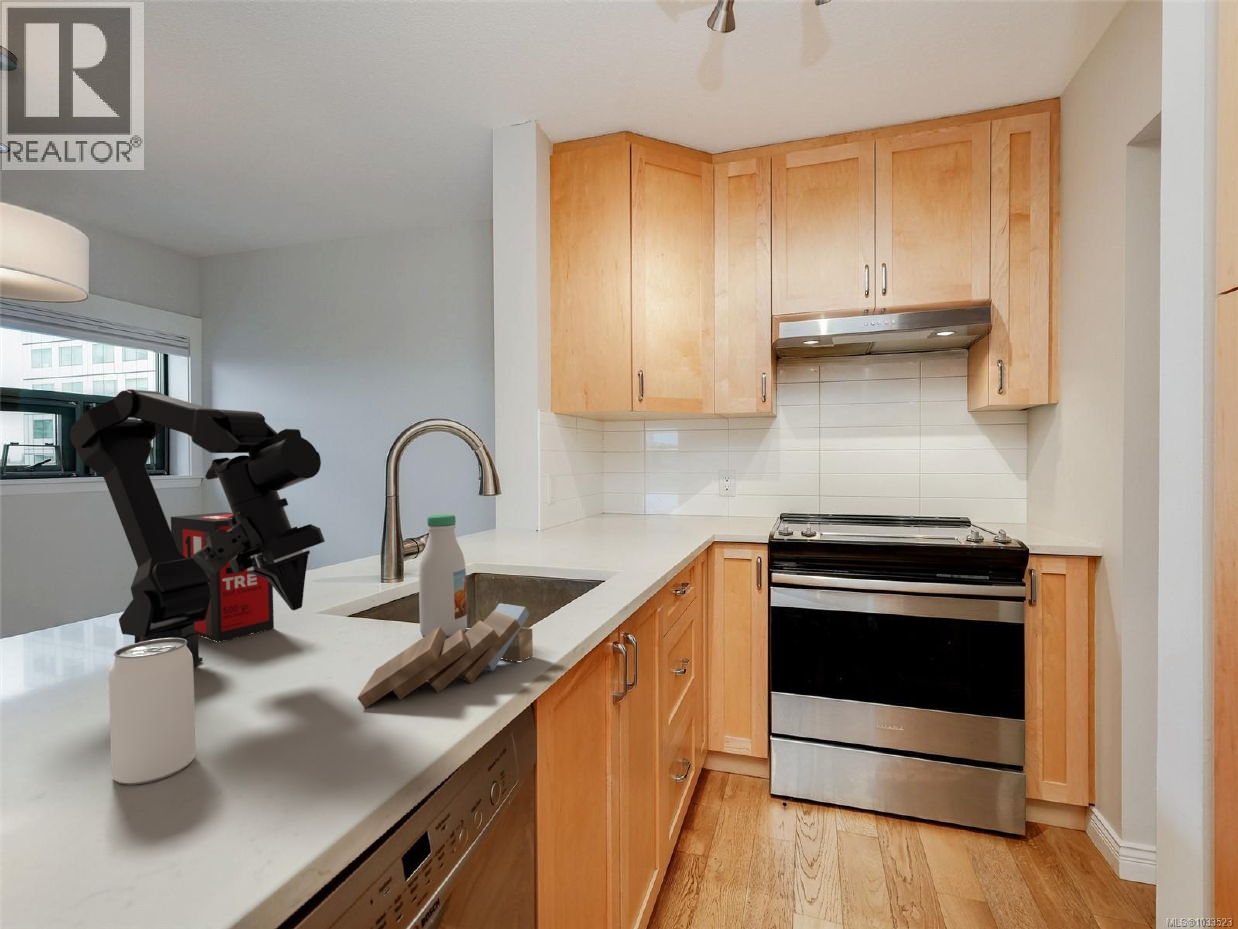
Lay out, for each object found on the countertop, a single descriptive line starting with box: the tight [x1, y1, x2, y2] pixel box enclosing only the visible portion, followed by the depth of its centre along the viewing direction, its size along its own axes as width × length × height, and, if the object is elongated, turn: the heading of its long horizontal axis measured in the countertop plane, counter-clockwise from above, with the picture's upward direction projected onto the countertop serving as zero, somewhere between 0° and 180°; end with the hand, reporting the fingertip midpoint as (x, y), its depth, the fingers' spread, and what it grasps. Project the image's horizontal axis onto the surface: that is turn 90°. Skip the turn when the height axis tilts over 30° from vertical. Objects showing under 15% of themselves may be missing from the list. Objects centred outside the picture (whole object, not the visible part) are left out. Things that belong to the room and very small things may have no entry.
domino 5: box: [483, 602, 530, 672], centre depth 86 cm, size 2×5×10 cm
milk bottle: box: [418, 514, 468, 638], centre depth 101 cm, size 8×8×20 cm
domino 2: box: [392, 629, 470, 700], centre depth 77 cm, size 2×5×10 cm
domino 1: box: [357, 627, 447, 709], centre depth 76 cm, size 2×10×10 cm
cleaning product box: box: [170, 511, 275, 643], centre depth 105 cm, size 16×9×20 cm, turn 58°
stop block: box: [502, 626, 534, 662], centre depth 89 cm, size 3×6×4 cm, turn 60°
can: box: [108, 638, 196, 786], centre depth 58 cm, size 6×6×12 cm
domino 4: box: [457, 610, 520, 684], centre depth 83 cm, size 2×5×10 cm
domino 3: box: [427, 619, 500, 694], centre depth 79 cm, size 2×5×10 cm
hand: (297, 609), depth 80 cm, fingers closed
